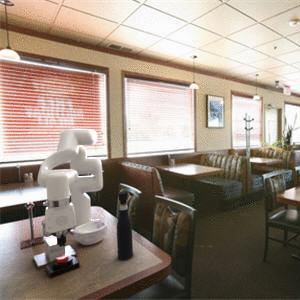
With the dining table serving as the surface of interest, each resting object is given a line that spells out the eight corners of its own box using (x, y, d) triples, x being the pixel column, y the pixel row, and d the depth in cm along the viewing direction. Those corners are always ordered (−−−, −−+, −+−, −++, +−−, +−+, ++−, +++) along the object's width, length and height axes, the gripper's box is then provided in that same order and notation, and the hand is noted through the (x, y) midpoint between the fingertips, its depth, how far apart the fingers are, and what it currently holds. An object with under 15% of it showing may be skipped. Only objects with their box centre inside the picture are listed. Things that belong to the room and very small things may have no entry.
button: (66, 257, 100) (66, 253, 100) (69, 260, 98) (69, 256, 97) (55, 260, 97) (55, 256, 97) (57, 264, 95) (57, 260, 95)
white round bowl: (67, 245, 119) (66, 230, 118) (93, 233, 133) (92, 219, 132) (89, 250, 113) (88, 234, 113) (114, 237, 128) (113, 223, 127)
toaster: (65, 256, 105) (64, 241, 104) (50, 261, 101) (49, 245, 100) (59, 248, 112) (58, 234, 112) (45, 252, 108) (44, 237, 108)
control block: (73, 260, 104) (73, 252, 104) (79, 267, 99) (78, 258, 98) (46, 270, 97) (45, 261, 96) (50, 278, 91) (49, 268, 91)
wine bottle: (136, 254, 109) (133, 191, 107) (126, 261, 103) (123, 194, 101) (125, 252, 111) (122, 190, 109) (114, 259, 105) (111, 193, 103)
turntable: (69, 248, 116) (69, 245, 116) (76, 256, 108) (76, 253, 107) (33, 259, 105) (33, 256, 105) (38, 269, 97) (38, 266, 97)
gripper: (37, 209, 88) (41, 255, 89) (82, 200, 99) (84, 241, 100) (34, 204, 93) (37, 249, 94) (77, 196, 104) (79, 236, 105)
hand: (61, 245), depth 97 cm, fingers closed
